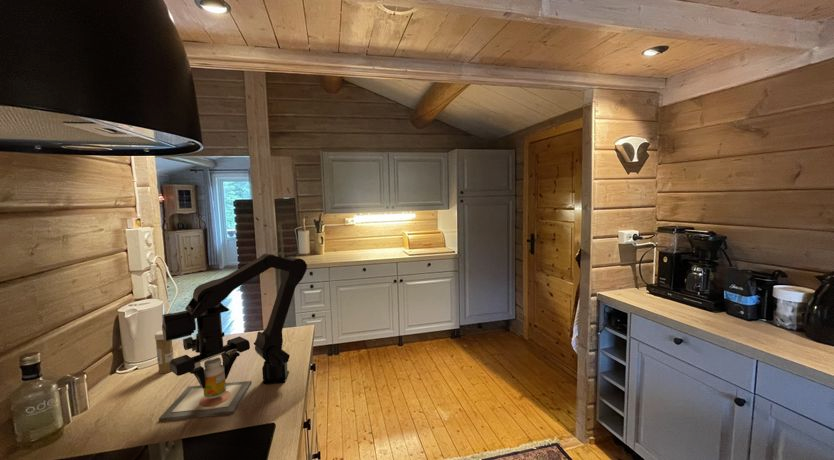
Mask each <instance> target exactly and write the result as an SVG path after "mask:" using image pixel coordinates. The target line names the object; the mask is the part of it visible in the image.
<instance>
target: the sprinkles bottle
mask: <svg viewBox="0 0 834 460" xmlns="http://www.w3.org/2000/svg"><path fill="white" fill-rule="evenodd" d="M154 339H155V346H156V347H155V348H156V349H155V350H156V356H157V357H156V358H157V359H156V360H157V365H158V373H159V374H166V373H170V372H172V371H171V370H170V367H169V363H170V362H171V360H172V359H175V356H174V349H173V348H174V346H173V340H170V341H166V342H165V340H164V337H163V331H162V330H159V331H157V332H155V333H154Z"/></svg>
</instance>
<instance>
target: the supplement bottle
mask: <svg viewBox="0 0 834 460" xmlns="http://www.w3.org/2000/svg"><path fill="white" fill-rule="evenodd" d="M203 365H204V367H203V368H204V376H205V388H204V397H205V398H208V399H211V398H216V397H219V396H221V395H222V394H224V393H225V391H226V383H227V382H226V379H225V370H224V366H223V364H222V360H221V357H212V358H210V359H207V360H204V361H203Z"/></svg>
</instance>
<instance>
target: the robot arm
mask: <svg viewBox="0 0 834 460" xmlns="http://www.w3.org/2000/svg"><path fill="white" fill-rule="evenodd" d="M271 268H273V269H277V270H280V272H279V275H280V276H279V277H280V285H279V288H278V291H277V294H276V296H275V300H274V303H273V307H272V309H271V313H270V316H269V319H268V322H267V326H266V328H265V329H263V331H257V334H256V339H255V340H254V342H253V345H254V351H255V352H256V353H257V355H258V356H260V358H261V359H263V360H264V362H263V366H262V370H261V371H262V380H263V382H262V385H272V384H283V383H286V380H287V379H288V376H289V374H290V371H289V370H288V362H289V359H290V354H289V353H288V352H286V350H284V349H283V342H284V340H283V329H284V325H285V323H286V320H287V319H286V318H287V316H288V313H289V310H290V306H291V303H292V299H293V297H294V294H295V290H296V287H297V286H298V285H299V284H300V282H301V281H303V278H304V276H305V274H306V272H307V270H308V264H307V263H306V261H305V260H304V259H302V258H299V257H296V256H286V257H282V256H277V255H275V254H272V253H269V252H268V253H263V254H262V255H261V256H259V257H257V258H256V259H254V260H252V261H250V262H249V263H247V264H245V265H244V266H242V267H240V268H238V269H236V270H234V271H233V272H230V274H227V275H226V276H223V277H220V278H216V279H212V280H209V281H207V282H204V283H202V284H200V285H198V286H196V287H195V288H194V290H193V293H192V298H191V299H190V301H189V302H188V304H187V305H186V307H185V310H183V311H178V312H172V313H171V312H170V313H164V314H163V315H162V325H161V331H163V337H164V340H165V342H166V341H170V340H172V341H174V340H179V339H181V338H182V345H183V349H184V350H185V351H188V350H191V351H192V352H195V353H197V354H198V355H195V356H192V357H191V356H189V355H187V354H183V355H181V356H178V357H174V359H172V360H171V362H170V363H169V367H170V370H171V371H170V372H171V373H173V374H175V375H176V376H177V377H178V376H180V377H181V376H183V375H186V374H191V375H194V377H195V378H196V380H197V382H198V384H199V385H201V387H202V388H203V389H204V388H205V376H204V369H205V367H203V366H201V362H205V361H206V360H208V359H211V358H216V357H218V356H220V355H221V358H222V365H223V366H224V370H225V380H226V379H228V376H229V374H230V372H231V369H232V367H233V364H235V361H236V360H237V357H240V356H241V354H240V353H243V352H245V351H248V350H250V349H251V346H250V341H249V340H248V339H246V338H244V337H242V336H241V335H240V336H237V337H233V338H231V339H228V340H227V341H226V344H224V337H225V332H224V331H223V327H222V326H223V325H222V323H223V322H222V313H226V312H229V310H230V309H229V308H228V307H227V306H226V305H224V303H222V302H224V300H226V299H227V298H228V297H229V295H230V294H231V293H232V292H233V291H234V290H236V289H237V288H239V287H240V286H242V285H244V284H246V283H247V282H249V281H251V280H252V279H254V278H255V277H257V276H260V275H261V274H262V273H264V272H266V271H267V270H269V269H271ZM196 330H197V333H196V334H195V338H194V337H192V334H194V333H195V331H196ZM185 337H186V338H185Z"/></svg>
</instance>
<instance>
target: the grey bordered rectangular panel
mask: <svg viewBox="0 0 834 460" xmlns="http://www.w3.org/2000/svg"><path fill="white" fill-rule="evenodd" d="M252 383H253V382H252V380H246V381H236V382H235V381H233V382H226V391H225V393H224V394H222V395H221V396H219V397H216V398H211V399H208V398H205V397H204V389H203V388H202V387H201V385H200V384H199V385H190V386H187V387H186V389H184V390H183V391H182V393H181V394H180V395H178V397H177V398H176V399H175V400H174V401H173V403H171V404H170V406H169V407H167V409H166V410H165V411H164V412H163V413H162V414H161V415H160V416H159V418H158V422H166V421H175V420H186V419H187V420H188V419H195V418H206V417H213V416H214V417H215V416H223V415H224V416H225V415H234V413H235V411H237V408H238V407H239V405H240V404H241V401H242V400H243V399H244V396H245V395H246V393H247V391H248V390H249V388H250V387H251V385H252Z"/></svg>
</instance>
